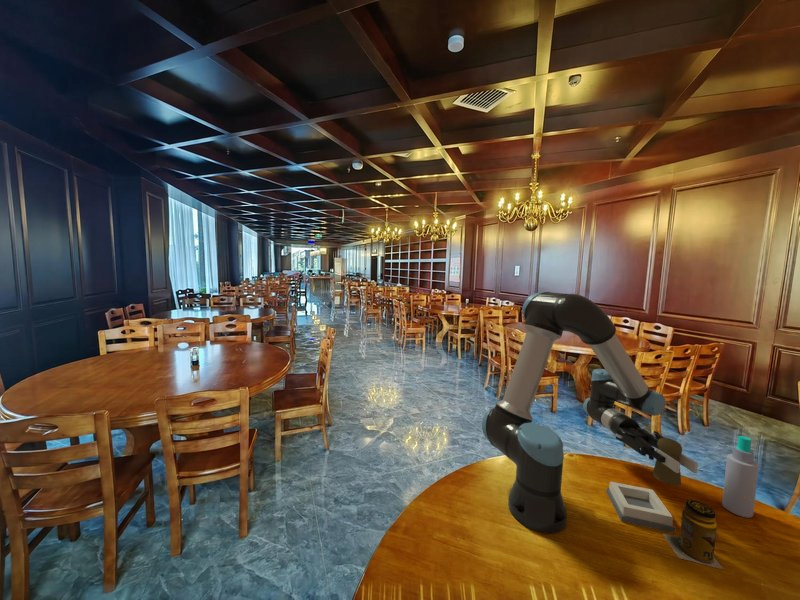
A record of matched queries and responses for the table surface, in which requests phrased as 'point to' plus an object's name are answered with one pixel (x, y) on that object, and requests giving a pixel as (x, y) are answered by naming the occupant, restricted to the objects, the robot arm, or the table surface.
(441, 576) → the table surface
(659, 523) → the collar holder
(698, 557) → the condiment
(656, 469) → the cork
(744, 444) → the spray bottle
